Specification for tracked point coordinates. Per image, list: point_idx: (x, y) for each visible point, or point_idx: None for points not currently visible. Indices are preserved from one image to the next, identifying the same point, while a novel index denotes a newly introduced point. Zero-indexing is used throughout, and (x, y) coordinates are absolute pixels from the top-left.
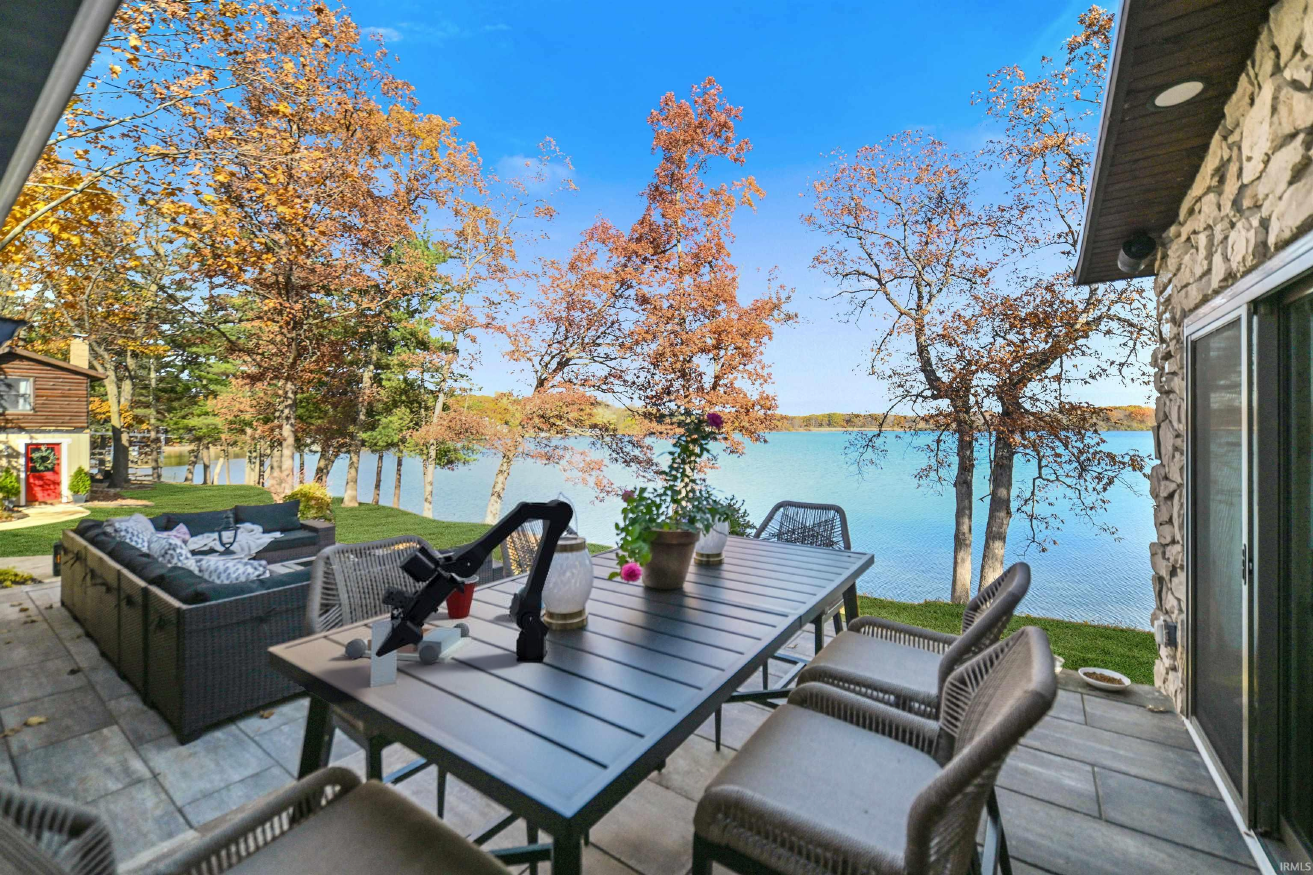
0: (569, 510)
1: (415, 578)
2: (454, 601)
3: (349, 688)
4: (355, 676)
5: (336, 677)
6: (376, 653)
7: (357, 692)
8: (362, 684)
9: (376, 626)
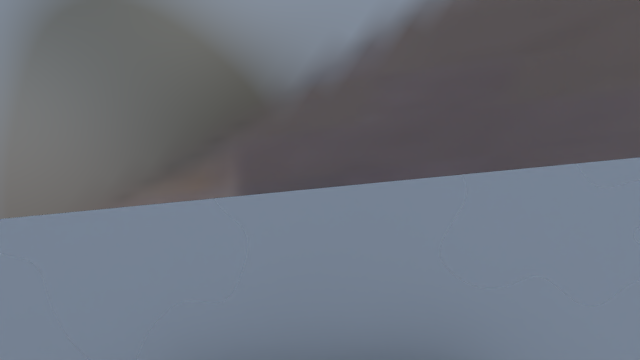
0: None
1: None
2: None
3: (265, 137)
4: (496, 149)
5: (516, 17)
6: None
7: (168, 202)
8: None
9: (54, 357)
